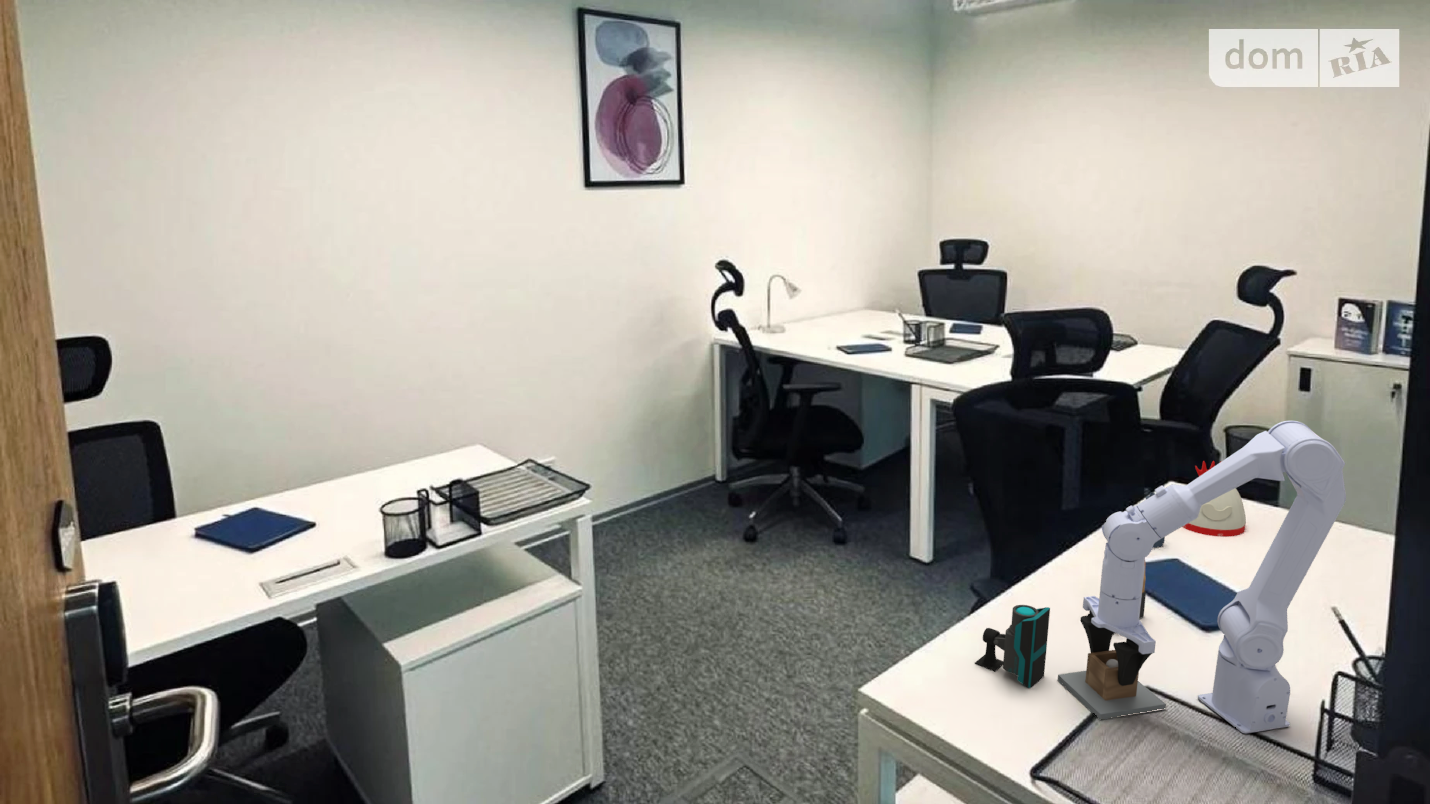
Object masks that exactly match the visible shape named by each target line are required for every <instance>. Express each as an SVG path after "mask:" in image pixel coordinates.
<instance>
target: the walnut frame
mask: <svg viewBox="0 0 1430 804" xmlns="http://www.w3.org/2000/svg"><path fill="white" fill-rule="evenodd" d="M1110 659H1115V660H1117V661H1118V659H1117V654H1116V651H1115V649H1111V650H1110V649H1109V651H1102V652H1094V653H1091V652H1088V653H1087V659H1086V670H1085V671H1086V679H1085V682H1086V683H1087V684H1088V685H1089V686H1090V687H1091V688H1092V689H1093V690H1094V691H1096V692H1097V693H1098V694H1099V695H1100V696H1101V697H1102V698H1103V699H1104V700H1105V701H1106V700H1113V699H1120V698H1127V697H1134V696H1136V693H1137V684H1138V681H1139V674H1140V673H1139V672H1140V671H1139V672H1138V674H1137V676H1136V679H1135V681H1134V683H1133V684H1132V685H1125V686H1121V685H1120V684H1119V682H1118V667H1114V668H1109V667H1108V666H1107V665H1106V662H1107V661H1108V660H1110Z"/></svg>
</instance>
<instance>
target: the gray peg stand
mask: <svg viewBox="0 0 1430 804" xmlns="http://www.w3.org/2000/svg"><path fill="white" fill-rule="evenodd" d="M1106 665H1107V666H1108V667H1109V668H1114V667H1118V661H1117V660H1115V659H1110V660H1108V661H1107V662H1106ZM1085 679H1086V670H1081V671H1074V672H1068V673H1067V672H1066V673H1061V674H1057V681H1058V683H1059V684H1061V685H1062V686H1063V687H1064V688H1066V690H1067V691H1068V692H1069V693H1071V695H1073V696H1074V697H1075V698H1076V699H1077V700H1078V701H1079V702H1080V703H1081V704H1083V706H1084V707H1085V708H1087V710H1089V711H1090V712H1091V713H1092V714H1093V713H1095V715H1097V717H1098V718H1099V719H1105V720H1109V719H1108V718H1111V717H1117V716H1121V715H1128V714H1133V713H1140V712H1147V711H1152V710H1157V709H1164V708H1166V707H1167V703H1166V702H1165V701H1163V700H1162V699H1161V698H1159V696H1158V695H1156V694H1155V693H1153V692H1152V691H1151V690H1150V689H1148V688H1147V686H1145V685H1144V684H1143V683H1141V682H1140V681H1139V680H1138V684H1137V693H1136V696H1134V697H1127V698H1120V699H1113V700H1106V701H1105V700H1104V699H1103V698H1102V697H1101V696H1100V695H1099V694H1098V693H1097V692H1096V691H1094V690H1093V689H1092V688H1091V687H1090V686H1089V685H1088V684H1087V683H1086V682H1085ZM1095 715H1094V716H1095ZM1097 717H1096V718H1097ZM1098 718H1097V719H1098ZM1117 718H1118V717H1117ZM1099 719H1098V720H1099ZM1111 719H1112V718H1111Z"/></svg>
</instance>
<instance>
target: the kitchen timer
mask: <svg viewBox="0 0 1430 804" xmlns="http://www.w3.org/2000/svg"><path fill="white" fill-rule="evenodd" d="M1220 462H1222V461H1220ZM1220 462H1219V463H1220ZM1215 463H1216V462H1215V461H1214V460H1213V461H1212V462H1211V463H1210V464H1211V465H1210V467H1209V469H1207V463H1206V462H1205V460H1203V461H1202V466H1201V469H1199V468H1198V466H1197V465H1194V467H1195V470H1196V472H1197V475H1198V477H1199V476H1201V475H1202V474H1204V473H1205V472H1207V471H1208V470H1210V469H1211V468H1213V467H1214V466H1216V464H1215ZM1244 507H1245V506H1244V502H1243V500H1242V497H1241V494H1240V493H1239V491H1238V489H1237V488H1235V489H1233V490H1231V491H1229V492H1227V493H1225V494H1223V495H1221V496H1219V497H1217V498H1215V499H1213V500H1211V501H1209V502H1207V503H1205V504H1203V505H1202V506H1201V508H1200V511H1199V515H1198V518H1196V519H1195V520H1193V521H1191V522H1189V523H1188V524H1186V525H1184V526H1183V527H1182V528H1183V529H1184V530H1187V531H1190V532H1192V533H1196V534H1201V535H1205V536H1212V537H1223V538H1224V537H1225V538H1226V537H1236V536H1240V535H1243V534H1244V533H1245V530H1246V523H1247V520H1246V511H1245V508H1244Z"/></svg>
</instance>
